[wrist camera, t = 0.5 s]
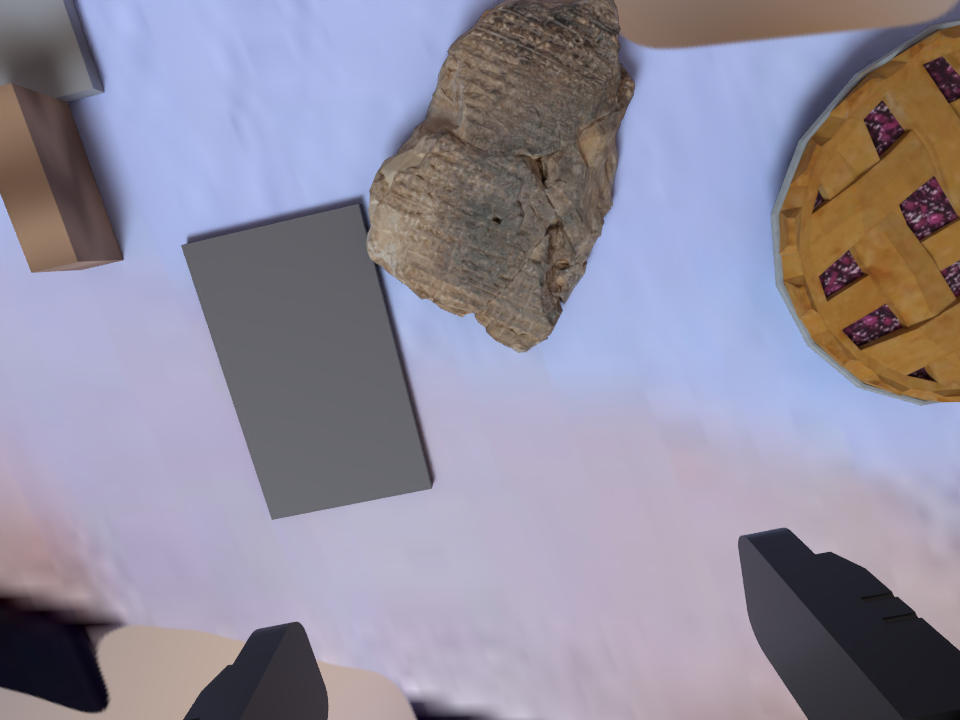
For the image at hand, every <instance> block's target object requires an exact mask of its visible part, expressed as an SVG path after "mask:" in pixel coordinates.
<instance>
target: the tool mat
mask: <svg viewBox="0 0 960 720" xmlns="http://www.w3.org/2000/svg"><path fill="white" fill-rule="evenodd" d="M367 234H368V231H367V227H366V223H365V219H364V215H363V212H362V208H361V204H355V205H351V206H346V207H342V208H338V209H334V210H329V211H325V212H321V213H317V214H312V215H308V216H304V217H300V218H295V219H291V220H287V221H282V222H278V223H274V224H270V225H265V226H261V227H257V228H253V229H248V230H244V231H240V232H235V233H231V234H227V235H223V236H218V237H214V238H210V239H206V240H201V241H197V242H193V243H188V244H184V245H181V246H182V249H183V252H184V255H185V258H186V261H187V264H188V267H189V270H190V273H191V276H192V280H193V283H194V286H195V289H196V292H197V295H198V298H199V301H200V304H201V307H202V310H203V313H204V316H205V319H206V322H207V325H208V328H209V331H210V334H211V337H212V340H213V343H214V346H215V349H216V352H217V355H218V358H219V361H220V364H221V367H222V370H223V373H224V376H225V379H226V382H227V385H228V388H229V391H230V394H231V397H232V400H233V404H234V407H235V410H236V413H237V416H238V419H239V422H240V425H241V428H242V431H243V434H244V437H245V440H246V443H247V446H248V449H249V452H250V455H251V458H252V461H253V464H254V467H255V470H256V473H257V476H258V479H259V482H260V485H261V488H262V491H263V494H264V497H265V500H266V503H267V506H268V509H269V512H270V515H271V518H272V520H273V519H278V518H283V517H289V516H294V515H299V514H304V513H309V512H314V511H319V510H324V509H330V508H335V507H340V506H345V505H350V504H355V503H360V502H365V501H370V500H376V499H381V498H386V497H391V496H396V495H401V494H406V493H411V492H417V491H422V490H427V489H432V486H433V484H432V480H431V476H430V472H429V468H428V465H427V461H426V457H425V453H424V449H423V445H422V441H421V437H420V433H419V430H418V426H417V422H416V418H415V414H414V410H413V406H412V402H411V398H410V394H409V391H408V387H407V383H406V379H405V375H404V371H403V367H402V363H401V359H400V356H399V352H398V348H397V344H396V340H395V336H394V332H393V328H392V324H391V321H390V317H389V313H388V309H387V305H386V301H385V297H384V293H383V289H382V285H381V282H380V278H379V274H378V270H377V266H376V263H375V262H374V261H372V260H371V259H370V257H369V255H368V252H367V246H366V239H367Z"/></svg>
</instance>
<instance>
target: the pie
mask: <svg viewBox="0 0 960 720" xmlns="http://www.w3.org/2000/svg"><path fill="white" fill-rule="evenodd" d="M771 222H772V237H773V251H774V266H775V280H776V287H777V289H778V291H779V292H780V294H781V296H782V298H783V300H784V302H785V304H786V306H787V308H788V310H789V312H790V313H791V315H792V317H793V319H794V321H795V323H796V325H797V327H798V329H799V331H800V333H801V334H802V336H803V338H804V340H805V342H806V344H807V346H808V347H809V348H811V349H812V350H813V351H814V352H815V353H817V354H818V355H819V356H820V357H822V358H823V359H824V360H825V361H826V362H828V363H829V364H830V365H831V366H832V367H834V368H835V369H836V370H837V371H838V372H840V373H841V374H842V375H843V376H844V377H846V378H847V379H848V380H849V381H850V382H852V383H853V384H854V385H855V386H856V387H858V388H861V389H864V390H868V391H871V392H875V393H878V394H882V395H885V396H889V397H892V398H896V399H900V400H903V401H907V402H910V403H914V404H917V405H927V404H933V403H939V402H960V19H958V20H953V21H948V22H943V23H939V24H934V25H931V26H929V27H927V28H926V29H924V30H923V31H921V32H920V33H918V34H916V35H915V36H913V37H912V38H910V39H909V40H907V41H905V42H904V43H902V44H901V45H899V46H898V47H896V48H895V49H893V50H891V51H890V52H888V53H887V54H885V55H884V56H882V57H880V58H879V59H877V60H876V61H874V62H873V63H871V64H869V65H868V66H866V67H865V68H863V69H862V70H860V71H858V72H857V73H856V74H855V75H854V76H853V77H852V78H851V79H850V81H849V82H848V83H847V84H846V85H845V87H844V88H843V89H842V90H841V91H840V92H839V94H838V95H837V96H836V97H835V98H834V99H833V101H832V102H831V103H830V104H829V105H828V107H827V108H826V109H825V110H824V111H823V112H822V114H821V115H820V116H819V117H818V118H817V120H816V121H815V122H814V123H813V124H812V125H811V127H810V128H809V129H808V130H807V131H806V133H805V134H804V135H803V136H802V137H801V138H800V140H799V142H798V145H797V147H796V150H795V152H794V155H793V158H792V160H791V163H790V166H789V168H788V171H787V173H786V176H785V179H784V181H783V184H782V186H781V189H780V192H779V194H778V197H777V199H776V202H775V205H774V207H773V210H772V213H771Z"/></svg>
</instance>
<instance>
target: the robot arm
mask: <svg viewBox="0 0 960 720" xmlns="http://www.w3.org/2000/svg"><path fill="white" fill-rule="evenodd" d="M738 548H739V555H740V562H741V569H742V576H743V583H744V590H745V597H746V604H747V611H748V616H749V620H750V623H751V626H752V629H753V631H754V634H755V636H756V639H757V641H758V643H759V645H760V647H761V649H762V650H763V652H764V654H765V655H766V657H767V658H768V660H769V661H770V663H771V664H772V666H773V667H774V669H775V670H776V672H777V673H778V675H779V676H780V678H781V679H782V681H783V682H784V684H785V685H786V687H787V688H788V690H789V691H790V693H791V694H792V696H793V697H794V699H795V700H796V702H797V703H798V705H799V706H800V708H801V709H802V711H803V712H804V714H805V715H806V717H807V718H808V720H960V651H959V650H958V649H957V648H956V647H955V646H953V645H952V644H951V643H950V642H949V641H948V640H947V639H945V638H944V637H943V636H942V635H941V634H940V633H939V632H937V631H936V630H935V629H934V628H933V627H932V626H931V625H929V624H928V623H927V622H926V621H925V620H924V619H923V618H918V617H917V615H916V613H915V611H913V610H912V609H911V608H910V607H909V606H908V605H907V604H905V603H904V602H903V601H902V600H901V599H900V598H899V597H894V595H893V593H892V591H891V590H889V589H888V588H887V587H886V586H885V585H884V584H882V583H881V582H880V581H879V580H878V579H877V578H876V577H874V576H873V575H872V574H871V573H870V572H869V571H868V570H866V569H865V568H863V567H861V566H859V565H857V564H855V563H853V562H851V561H849V560H847V559H845V558H842V557H840V556H838V555H836V554H834V553H832V552H826V553H821V554H816V555H815V554H814V553H813V552H812V551H811V550H810V549H809V548H808V547H807V546H806V545H805V544H804V543H803V542H802V541H801V540H800V539H799V538H798V537H797V536H796V535H795V534H793V533H792V532H791V531H790V530H789V529H787V528H779V529H774V530H769V531H764V532H759V533H754V534H749V535H744V536H740V537H739V541H738ZM327 719H328V696H327V691H326V687H325V684H324V681H323V679H322V676H321V673H320V670H319V668H318V665H317V662H316V659H315V656H314V653H313V651H312V648H311V645H310V642H309V640H308V637H307V634H306V631H305V629H304V627H303V626H302V625H301V624H300V623H299V622H292V623H287V624H282V625H277V626H271V627H266V628H261V629H257V630H255V631H254V632H253V633H252V634H251V636H250V637H249V639H248V640H247V642H246V644H245V645H244V647H243V649H242V650H241V652H240V654H239V655H238V657H237V658H236V660H235V662H234V663H233V665H228V666H226V668H225V669H223V671H221V673H220V674H219V675H217V676H216V677H215V678H214V679H213V680H212V682H210V683H209V684H208V685H207V687H205V688H204V690H202V691H201V693H200V694H199V696H198V698H197V699H196V701H195V702H194V704H193V705H192V707H191V708H190V710H189V712H188V713H187V715H186V716H185V718H184V719H183V720H327Z"/></svg>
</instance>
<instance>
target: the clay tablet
mask: <svg viewBox="0 0 960 720" xmlns="http://www.w3.org/2000/svg"><path fill="white" fill-rule="evenodd" d="M618 22H619V17H618V10H617V7H616V5H615V3H614V0H505V1H503V2H501V3H500V4H498V5H497V6H495V7H494V8H493V9H490V10H486V11H485V12H484V14H483V15H482V16H481V18H480V19H479V20H478V22H477V23H476V24H475V25H474V26H473V27H472V28H471V29H470V30H469V31H467V32H466V33H464V34H463V35H461V36H460V37H459V38H458V39H457V40H456V41H455V42H454V43H453V44H452V45H451V46H450V48H449V50H448V51H447V52H448V53H449V55H448V57H447V58H446V60H445V62H444V64H443V66H442V68H441V70H440V72H439V75H438V84H437V87H436V91H435V92H434V94H433V98H432V100H431V103H430V105H429V108H428V112H427V116H426V119H425V121H423V122H421V123H420V124H419V125H418V126H417V127H416V128H415V129H414V132H413V134H412V136H411V137H410V138H409V139H408V140H407V141H406V142H405V143H404V144H403V145H402V146H401V148H400V150H399V151H398V153H397V155H395V156H392V157H390V158H388V159H386V160H385V161H384V162H383V164H382V166H381V167H380V169H379V170H378V172H377V173H376V176H375V178H374V181H373V183H372V186H371V188H370V204H369V210H368V211H369V218H370V224H371V227H370V229H369V231H368V234H367V239H366V246H367V252H368V255H369V257H370V259H371V260H372V261H374V262H375V263H376V264H378V265H380V266H382V267H383V268H384V269H385V270H386V271H387V272H388V273H389V274H391V275H392V276H393V277H395V278H396V279H398V280H399V281H401V283H404V284H405V285H407V286H408V287H409V288H410V289H411V290H412V291H413V292H414V293H415V294H416V295H417V296H418V297H419V298H421V299H429V300H431V301H432V302H433V303H435V304H437V305H438V306H439V307H440V308H441V309H443V310H446V311H448V312H450V313H453V314H455V315H458V316H461V317H463V316H464V315H465V314H468V313H474V314H475V318H476V320H477V321H478V323H480V324H481V325H483V326H484V327H485V328H486V332H487V333H488V334H489V335H490V336H491V337H492V338H494V339H495V340H496V341H498V342H500V343H502V344H503V345H505V346H507V347H510V348H512V349H513V350H515V351H517V352H518V353H520V352H527V351H528V350H529V349H531V348H532V347H533V346H535V345H537V344H538V343H540V342H542V341H543V340H546V339H547V338H548V336H549V335H550V334H551V333H552V331H553V329H554V327H555V325H556V323H557V321H558V319H559V317H560V315H561V313H562V311H563V310H562V308H561V305H560V301H562V302H563V303H564V304H565V303H566V301H567V300H568V298H569V296H570V294H571V292H572V290H573V289H574V288H575V286H576V285H577V283H578V282H579V281H580V279H581V278H582V276H583V275H584V274H585V269H586V264H587V261H586V259H587V258H588V257H589V254H590V252H591V250H592V248H593V245H594V244H595V242H596V240H597V238H598V237H600V236H601V231H602V226H603V225H604V220H603V218H604V216H605V215H606V214H607V213H608V211H609V210H610V209H611V207H612V206H613V201H612V185H613V180H614V177H615V173H616V169H617V165H618V153H617V148H616V140H615V139H616V134H617V131H618V129H619V126H620V124H621V121H622V119H623V117H624V115H625V112H626V109H627V107H628V105H629V103H630V101H631V99H632V97H633V95H634V89H635V83H634V82H633V80H632V79H631V77H630V76H629V74H628V73H627V71H626V70H625V68H624V67H623V65H622V64H621V63H619V60H618V52H619V49H620V43H619V41H618V34H619V32H620V26H619V23H618Z"/></svg>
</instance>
